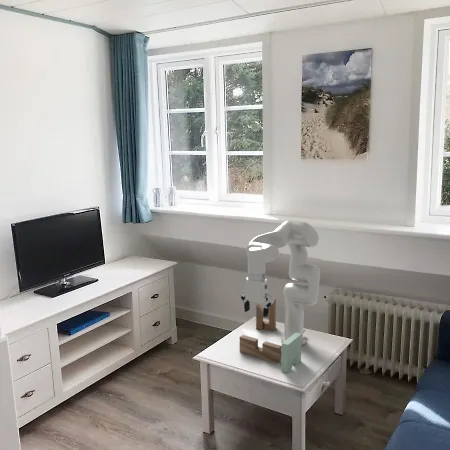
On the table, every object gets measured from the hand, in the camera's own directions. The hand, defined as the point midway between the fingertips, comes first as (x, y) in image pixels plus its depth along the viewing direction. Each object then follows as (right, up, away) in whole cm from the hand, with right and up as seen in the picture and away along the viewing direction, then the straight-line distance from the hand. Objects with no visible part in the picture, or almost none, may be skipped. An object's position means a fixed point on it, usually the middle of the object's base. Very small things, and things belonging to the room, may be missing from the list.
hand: (256, 313), depth 208 cm
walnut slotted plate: (+3, -26, +24) cm, 36 cm away
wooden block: (+9, -19, +56) cm, 60 cm away
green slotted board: (+17, -28, +15) cm, 36 cm away
